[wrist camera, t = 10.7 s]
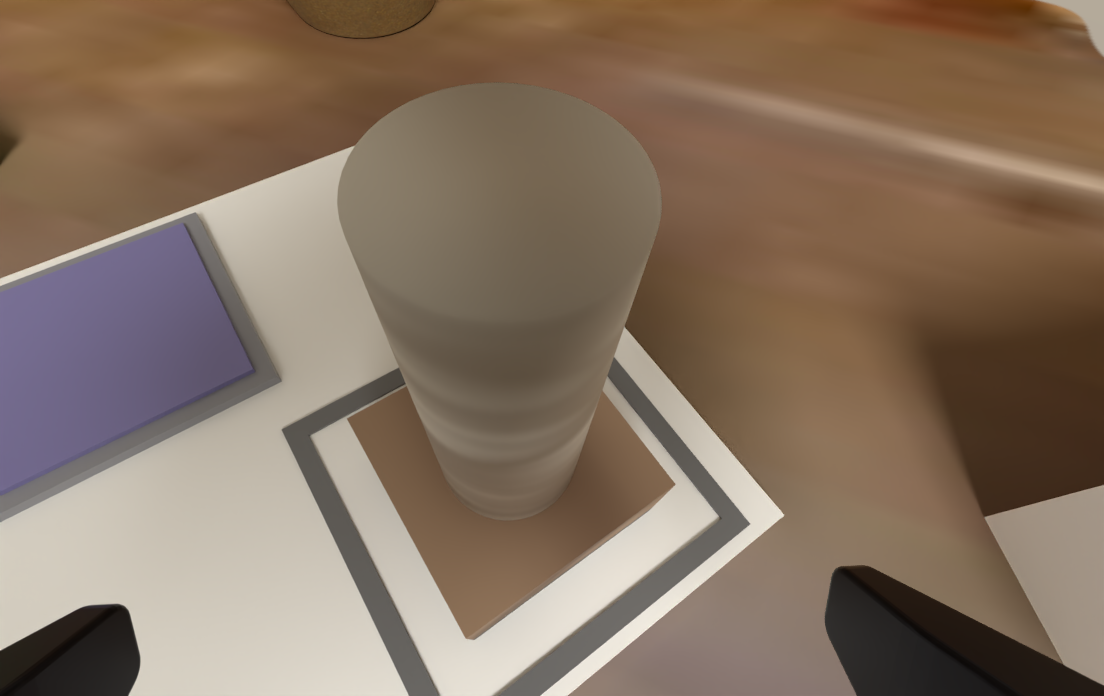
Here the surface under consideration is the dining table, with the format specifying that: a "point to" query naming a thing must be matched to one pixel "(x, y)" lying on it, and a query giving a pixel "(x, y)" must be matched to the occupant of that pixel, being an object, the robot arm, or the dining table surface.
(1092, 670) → the white box
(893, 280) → the dining table surface
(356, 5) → the plant pot
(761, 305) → the dining table surface
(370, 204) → the stamp
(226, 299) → the stamping board
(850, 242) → the dining table surface
